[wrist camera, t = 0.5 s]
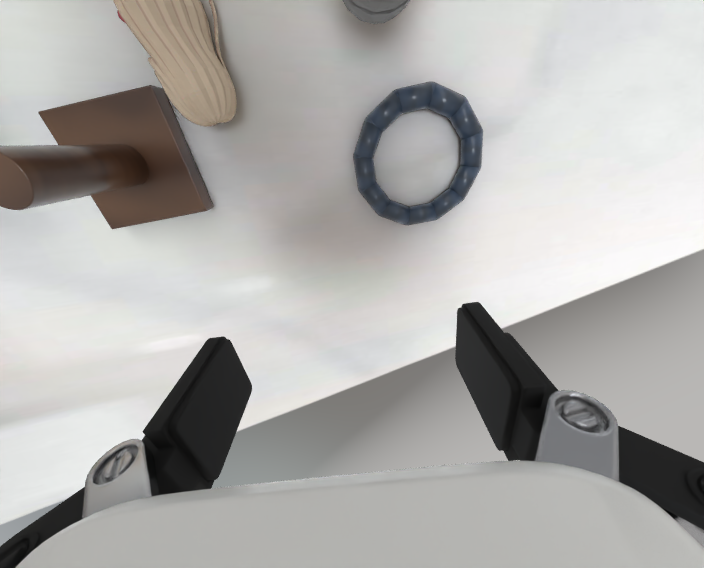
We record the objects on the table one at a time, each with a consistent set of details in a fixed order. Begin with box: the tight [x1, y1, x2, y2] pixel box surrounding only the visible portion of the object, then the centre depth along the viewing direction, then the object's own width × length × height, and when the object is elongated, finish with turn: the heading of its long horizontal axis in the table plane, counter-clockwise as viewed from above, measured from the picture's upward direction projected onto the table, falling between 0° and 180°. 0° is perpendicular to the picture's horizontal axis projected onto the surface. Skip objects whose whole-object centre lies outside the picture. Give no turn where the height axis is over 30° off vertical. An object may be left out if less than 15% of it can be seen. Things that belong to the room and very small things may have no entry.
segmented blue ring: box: [353, 82, 483, 225], centre depth 22 cm, size 10×10×2 cm
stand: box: [0, 85, 213, 229], centre depth 18 cm, size 9×9×10 cm
